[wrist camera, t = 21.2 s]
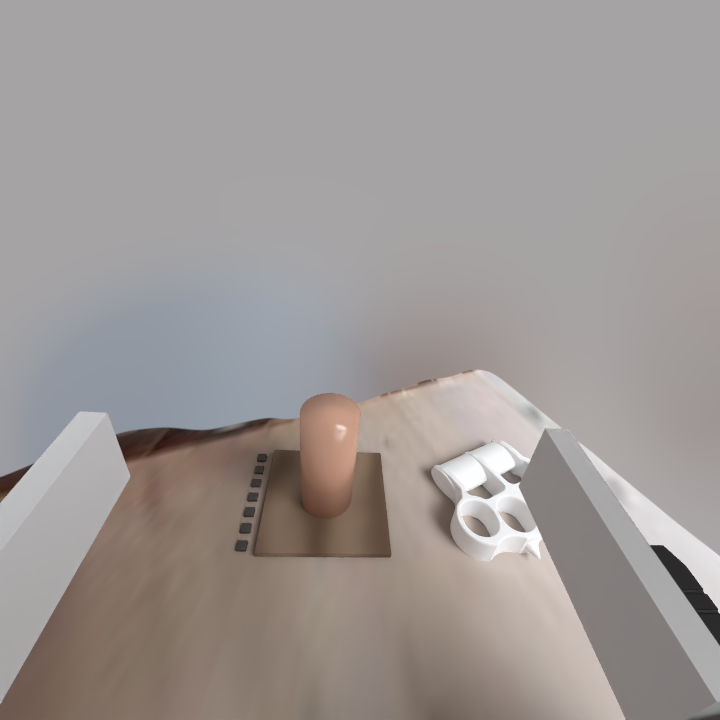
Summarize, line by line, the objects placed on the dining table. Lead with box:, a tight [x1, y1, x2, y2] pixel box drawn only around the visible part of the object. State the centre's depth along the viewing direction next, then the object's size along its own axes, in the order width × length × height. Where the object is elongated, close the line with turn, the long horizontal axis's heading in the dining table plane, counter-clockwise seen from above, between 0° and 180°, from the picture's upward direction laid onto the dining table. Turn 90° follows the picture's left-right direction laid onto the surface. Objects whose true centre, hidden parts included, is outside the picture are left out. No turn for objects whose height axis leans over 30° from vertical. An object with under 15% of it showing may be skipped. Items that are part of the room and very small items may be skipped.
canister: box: [300, 393, 361, 519], centre depth 42 cm, size 6×6×13 cm
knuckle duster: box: [431, 439, 542, 561], centre depth 47 cm, size 3×18×15 cm
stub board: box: [236, 450, 391, 557], centre depth 46 cm, size 16×14×1 cm
